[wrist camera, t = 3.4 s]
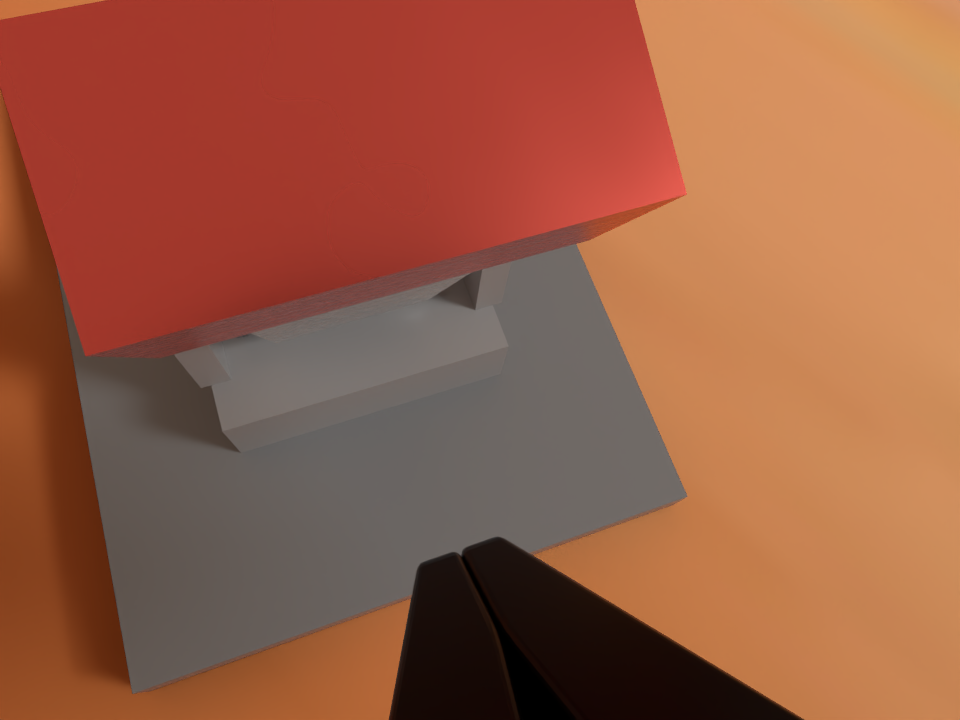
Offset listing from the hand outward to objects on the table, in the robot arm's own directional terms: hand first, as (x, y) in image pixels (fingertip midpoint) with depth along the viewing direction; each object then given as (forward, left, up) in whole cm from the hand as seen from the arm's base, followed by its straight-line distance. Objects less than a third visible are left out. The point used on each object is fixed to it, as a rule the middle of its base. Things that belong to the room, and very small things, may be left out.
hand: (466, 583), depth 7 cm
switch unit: (+8, +4, -10) cm, 13 cm away
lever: (+6, +3, -6) cm, 9 cm away
